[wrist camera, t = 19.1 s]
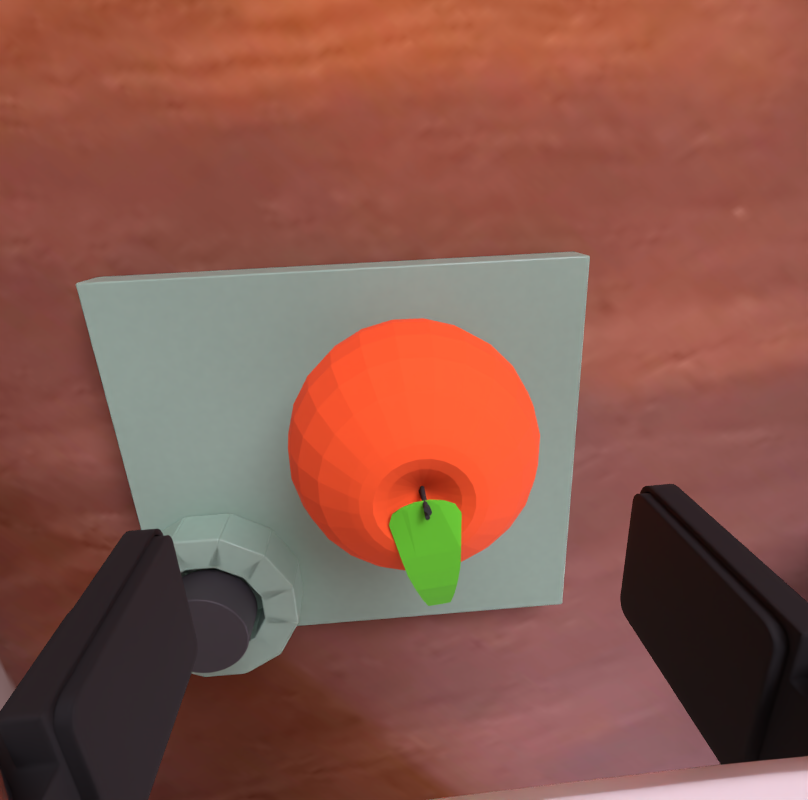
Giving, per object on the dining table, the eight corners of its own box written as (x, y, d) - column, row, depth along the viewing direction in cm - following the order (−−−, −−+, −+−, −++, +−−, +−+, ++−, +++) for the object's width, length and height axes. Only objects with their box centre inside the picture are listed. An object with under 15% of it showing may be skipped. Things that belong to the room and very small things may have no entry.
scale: (170, 622, 23) (142, 683, 20) (79, 277, 17) (23, 292, 14) (550, 591, 23) (575, 645, 20) (574, 251, 18) (612, 260, 15)
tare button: (177, 642, 20) (161, 677, 18) (158, 572, 18) (140, 604, 17) (263, 635, 20) (255, 669, 18) (250, 565, 19) (241, 596, 17)
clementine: (515, 493, 20) (590, 644, 13) (332, 525, 20) (315, 692, 13) (494, 279, 17) (578, 334, 10) (280, 317, 17) (223, 395, 10)
